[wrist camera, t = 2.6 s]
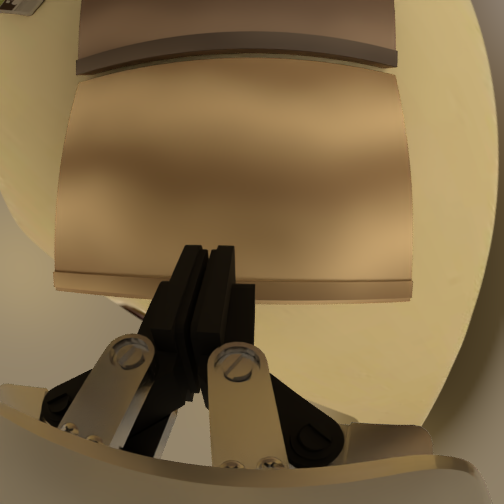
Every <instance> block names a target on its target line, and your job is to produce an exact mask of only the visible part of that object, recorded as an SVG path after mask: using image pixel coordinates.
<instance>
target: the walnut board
mask: <svg viewBox="0 0 504 504" xmlns="http://www.w3.org/2000/svg"><path fill="white" fill-rule="evenodd" d="M397 52H398V51H396V34H395V10H394V0H82V3H81V13H80V26H79V50H78V60H76V75H93V74H96V73H100V72H104V71H108V70H112V69H116V68H120V67H125V66H130V65H134V64H140V63H145V62H151V61H157V60H163V59H170V58H178V57H187V56H197V55H210V54H230V53H271V54H291V55H304V56H314V57H323V58H331V59H338V60H344V61H350V62H356V63H361V64H367V65H371V66H376V67H381V68H393V67H397Z"/></svg>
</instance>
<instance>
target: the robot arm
mask: <svg viewBox="0 0 504 504" xmlns="http://www.w3.org/2000/svg"><path fill="white" fill-rule="evenodd" d="M254 325H255V284H236V276H235V247H234V246H229V245H218V247H217V249H212V250H211V253H210V257H209V256H208V250H207V249H203V248H202V245H185V246H184V249H183V251H182V253H181V255H180V257H179V260H178V262H177V264H176V266H175V269H174V271H173V273H172V276H171V278H170V280H169V281H161V282H160V284H159V286H158V288H157V290H156V292H155V294H154V297H153V299H152V301H151V303H150V306H149V308H148V310H147V312H146V315H145V317H144V319H143V322H142V324H141V326H140V329H139V331H138V333H137V334H125V335H123V336H120V337H118V338H116V339H115V340H113V341H112V342H111V343H110V344H109V345H108V346H107V348H106V349H105V351H104V352H103V354H102V355H101V357H100V358H99V360H98V361H97V363H96V364H95V366H94V368H93V369H91V370H89V371H87V372H85V373H83V374H81V375H79V376H77V377H75V378H73V379H71V380H69V381H67V382H65V383H62V384H60V385H58V386H56V387H54V388H53V389H51V390H50V391H48V390H47V389H46V388H39V387H30V386H22V385H14V384H2V385H1V386H0V504H492V500H491V497H490V493H489V491H488V488H487V485H486V483H485V480H484V479H483V476H482V475H481V473H480V472H479V471H478V469H477V468H476V467H475V466H474V465H473V464H472V463H470V462H468V461H466V460H464V459H460V458H456V457H452V456H444V455H433V442H432V438H431V436H430V434H429V433H428V431H427V430H425V429H424V428H422V427H421V426H416V425H389V424H369V423H355V422H351V424H350V425H346V424H338V423H337V422H336V421H334V420H333V419H332V418H331V417H329V416H327V415H326V414H325V413H323V412H322V411H320V410H319V409H318V408H316V407H315V406H313V405H312V404H311V403H309V402H308V401H307V400H305V399H304V398H302V397H301V396H300V395H298V394H297V393H296V392H294V391H293V390H292V389H290V388H289V387H288V386H286V385H285V384H284V383H282V382H281V381H280V380H278V379H277V378H276V377H275V376H273V375H272V374H271V373H269V368H268V363H267V360H266V357H265V355H264V353H263V352H262V351H261V350H260V349H259V348H257V347H255V346H254ZM200 388H201V391H202V395H203V399H204V402H205V406H206V408H207V409H208V410H209V420H210V439H211V455H212V467H211V466H200V465H194V464H186V463H179V462H173V461H168V460H162V459H160V458H161V456H162V453H163V451H164V448H165V446H166V443H167V440H168V438H169V435H170V433H171V430H172V427H173V425H174V422H175V420H176V417H177V413H178V408H180V407H182V406H183V405H185V401H191V402H192V401H193V396H194V393H199V392H200Z"/></svg>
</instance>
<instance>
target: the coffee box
mask: <svg viewBox="0 0 504 504" xmlns="http://www.w3.org/2000/svg"><path fill="white" fill-rule="evenodd" d="M43 1H44V0H0V13H10V14H19V15H26V16H30V15H32V14H33V12H34V11H35V10H36V9H37V8H38V7H39V5H40V4H41V3H42V2H43Z"/></svg>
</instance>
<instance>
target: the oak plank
mask: <svg viewBox="0 0 504 504" xmlns="http://www.w3.org/2000/svg"><path fill="white" fill-rule="evenodd" d="M185 245H202V248H203V249H207V250H208V256H209V257H210V253H211V250H212V249H217V247H218V245H229V246H234V247H235V276H236V284H255V304H359V303H386V302H406V301H410V298H412V288H413V281H412V262H413V203H412V184H411V171H410V161H409V151H408V143H407V136H406V129H405V122H404V116H403V111H402V105H401V100H400V95H399V90H398V85H397V81H396V77H395V75H392V74H388V73H383V72H379V71H374V70H369V69H364V68H359V67H353V66H347V65H341V64H334V63H326V62H318V61H308V60H297V59H281V58H220V59H204V60H192V61H182V62H174V63H166V64H160V65H153V66H147V67H142V68H136V69H131V70H126V71H122V72H117V73H113V74H109V75H105V76H101V77H97V78H93V79H90V80H86V81H83V82H79V83H78V87H77V90H76V94H75V97H74V101H73V105H72V109H71V113H70V117H69V122H68V127H67V131H66V136H65V142H64V147H63V153H62V159H61V166H60V173H59V182H58V191H57V202H56V217H55V272H53V277H54V287H56V290H58V291H66V292H75V293H85V294H94V295H104V296H115V297H126V298H139V299H153V297H154V294H155V292H156V290H157V288H158V286H159V284H160V282H161V281H169V280H170V278H171V276H172V273H173V271H174V269H175V266H176V264H177V262H178V260H179V257H180V255H181V253H182V251H183V249H184V246H185Z"/></svg>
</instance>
